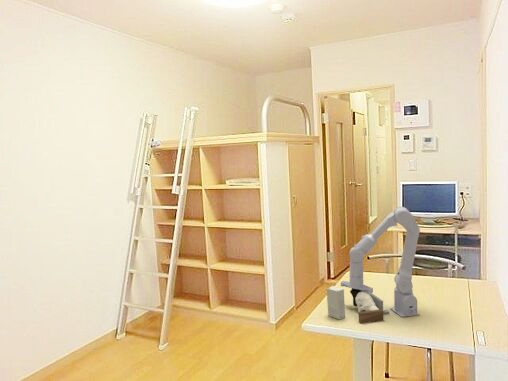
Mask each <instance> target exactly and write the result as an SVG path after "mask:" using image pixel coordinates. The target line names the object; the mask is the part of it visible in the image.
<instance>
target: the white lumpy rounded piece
mask: <svg viewBox="0 0 508 381" xmlns="http://www.w3.org/2000/svg"><path fill="white" fill-rule="evenodd" d="M355 300H356V304H357V306H356V307H357V312H363V311H373V310H379V309H378V308H377V307H376V305H375V303H374V301H373V299H372V297H371V295H370V294H369V293H367V292H365V291H361V292H359V293H358V294H357V296H356V298H355Z"/></svg>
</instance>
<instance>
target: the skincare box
mask: <svg viewBox="0 0 508 381" xmlns="http://www.w3.org/2000/svg"><path fill="white" fill-rule="evenodd" d="M326 301H327V302H326V303H327V316H329V317H332V318H334V319H336V320H342V319H344V318H346V309H345V308H346V307H345V289H344V288H341V287H337V286H334V285H332V286H329V287H327V288H326Z"/></svg>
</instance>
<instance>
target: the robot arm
mask: <svg viewBox="0 0 508 381" xmlns="http://www.w3.org/2000/svg"><path fill="white" fill-rule="evenodd" d="M415 218H416V217H415V216H414V215H413V213H412V212H410V210H409V209H408V208H406V207H405V206H398V207H396V208H395V209H394V210H393V211H391V212H390V213H389V214H388V215H387V216H386V217H385V218H383V220H382V221H381V222H380V223H379V225H378V226H377V227H376V228H375V229H374V230H373V231H372V232H371V233H368V234H367V233H366V234H365V235H362V236H361V239H360V240H358V243H355V244H353V247H351V248H350V250H349V259H350V260H349V281H345V280H342V281H341V282H340V287H345V288H349V289H350V290H349V293H350V294H351V297H352V304H353V307H354V306H355V307H357V304H356V300H355V298H356V296H357V294H358V293H359V292H361V291H365V292H369V293H370V294H371V293H372V294H374V288H373V287H370V286H368V285H366V284H364V264H363V260H364V258H365V255H367V254H368V253H369V252H370V251H372V249H374V247H375V246H376V245H377V243H378V239H379V238H380V237H381V236H383V234H384V233H385V232H386V231H388V229H390V228H391V227H397V226H398V224H399V225H400V226H402V227H403V228H404V229H405V231H406V233H405V239H404V245H403V248H402V249H403V250H402V254H401V260H400V263H399V264H400V266H399V268H398V269H397V270H398V271H397V273H396V274H395V275H394V282H395V287H394V289H393V290H394V294H393V295H394V297H393V298H394V306H393V307H392V306H391V307H390V308H389V309H390V310H392V311H393V312H394V313H396V314H397V315H399V316H400V317H401V318H403V317H405V318H406V317H407V318H408V317H413V316H420V313H419V312H418V298H417V297H416V296H415V295H414V292H413V282H412V277H413V267H414V262H415V257H416V251H417V247H418V241H419V236H420V231H421V230H420V227H419V224H418V223H417V220H416V219H415Z"/></svg>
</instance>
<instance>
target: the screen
mask: <svg viewBox="0 0 508 381" xmlns="http://www.w3.org/2000/svg"><path fill="white" fill-rule="evenodd" d="M367 293H369V292H367ZM369 294H370V293H369ZM370 295H371V297H372V299H373V301H374V303H375V305H376V307H377V308H378V309H379V310H381V309H382V310H383V316H384V315H390V311H389V310H387V309H384V300H382V299H381V298H380V297H378V296H376V295H375V294H374V293H371V294H370Z"/></svg>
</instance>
